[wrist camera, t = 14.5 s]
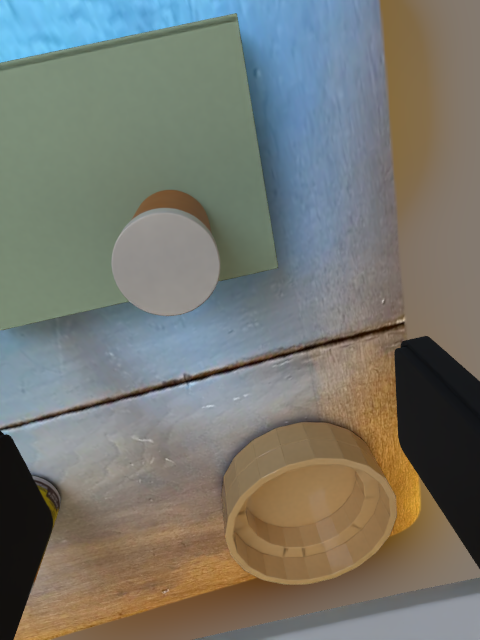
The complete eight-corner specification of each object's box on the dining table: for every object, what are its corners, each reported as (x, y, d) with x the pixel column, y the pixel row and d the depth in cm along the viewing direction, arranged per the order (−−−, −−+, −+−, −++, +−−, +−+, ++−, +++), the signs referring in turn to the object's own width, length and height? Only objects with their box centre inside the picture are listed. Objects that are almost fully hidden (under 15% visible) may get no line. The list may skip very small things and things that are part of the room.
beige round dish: (367, 401, 37) (393, 440, 32) (377, 516, 43) (399, 562, 38) (205, 439, 36) (208, 483, 32) (238, 549, 42) (244, 600, 38)
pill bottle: (201, 180, 25) (207, 201, 18) (218, 257, 27) (230, 304, 20) (121, 197, 25) (95, 225, 18) (144, 273, 27) (130, 326, 20)
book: (232, 23, 24) (236, 12, 22) (271, 257, 30) (278, 268, 28) (-117, 96, 24) (-148, 93, 22) (-7, 320, 30) (-23, 335, 28)
